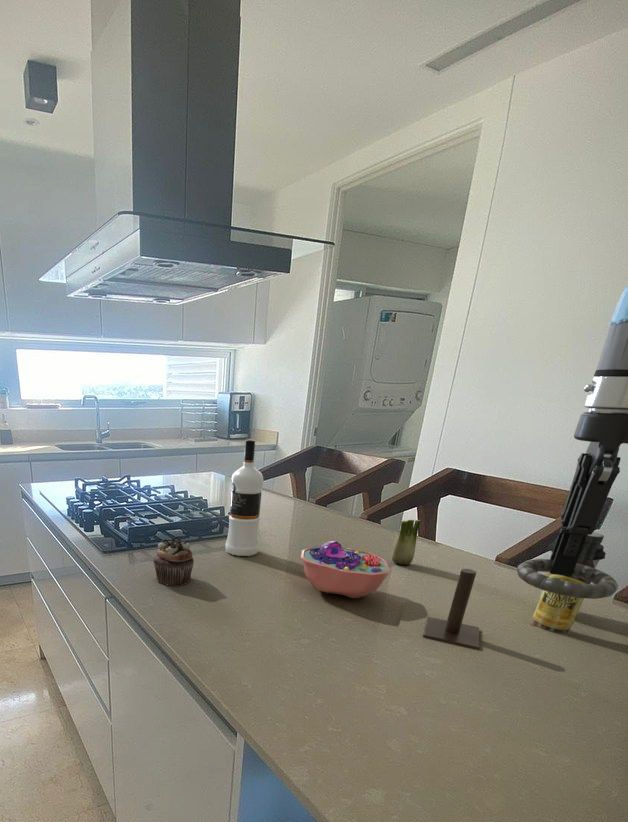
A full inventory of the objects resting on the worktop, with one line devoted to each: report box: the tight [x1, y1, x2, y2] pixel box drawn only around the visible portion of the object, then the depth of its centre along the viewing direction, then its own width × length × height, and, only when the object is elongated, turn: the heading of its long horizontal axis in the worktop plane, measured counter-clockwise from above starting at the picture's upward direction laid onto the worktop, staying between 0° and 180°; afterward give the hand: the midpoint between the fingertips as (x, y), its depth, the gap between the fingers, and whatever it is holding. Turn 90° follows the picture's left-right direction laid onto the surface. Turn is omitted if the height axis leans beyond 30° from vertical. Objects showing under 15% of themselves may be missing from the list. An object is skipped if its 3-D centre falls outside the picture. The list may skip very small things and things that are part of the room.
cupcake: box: [152, 537, 195, 586], centre depth 114 cm, size 10×10×10 cm
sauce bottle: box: [530, 531, 605, 634], centre depth 91 cm, size 7×6×20 cm
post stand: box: [422, 568, 480, 651], centre depth 89 cm, size 9×9×14 cm
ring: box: [516, 558, 619, 600], centre depth 72 cm, size 12×12×2 cm
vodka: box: [225, 439, 264, 557], centre depth 129 cm, size 9×9×30 cm
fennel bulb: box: [391, 519, 422, 566], centre depth 127 cm, size 6×5×12 cm
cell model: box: [300, 540, 392, 599], centre depth 108 cm, size 17×20×11 cm
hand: (559, 571), depth 76 cm, fingers closed on ring, 2 cm apart
